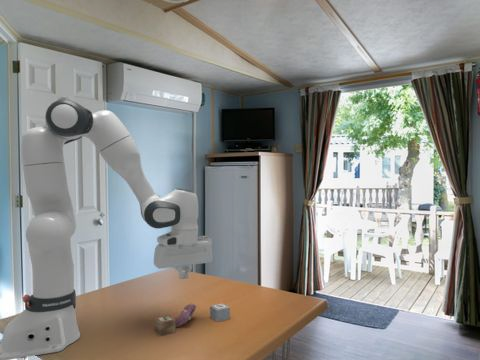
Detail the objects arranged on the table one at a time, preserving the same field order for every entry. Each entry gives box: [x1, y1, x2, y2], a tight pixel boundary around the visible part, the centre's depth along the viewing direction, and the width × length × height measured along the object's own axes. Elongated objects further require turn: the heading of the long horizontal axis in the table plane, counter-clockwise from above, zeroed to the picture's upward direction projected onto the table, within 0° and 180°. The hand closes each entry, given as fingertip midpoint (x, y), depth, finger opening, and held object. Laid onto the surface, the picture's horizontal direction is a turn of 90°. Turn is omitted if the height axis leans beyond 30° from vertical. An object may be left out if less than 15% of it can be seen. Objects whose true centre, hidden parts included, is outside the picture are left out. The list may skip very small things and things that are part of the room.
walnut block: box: [154, 315, 176, 337], centre depth 117 cm, size 5×5×4 cm
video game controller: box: [174, 303, 197, 328], centre depth 124 cm, size 10×5×7 cm, turn 169°
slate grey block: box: [209, 303, 231, 323], centre depth 128 cm, size 5×5×4 cm
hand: (183, 278), depth 124 cm, fingers closed
